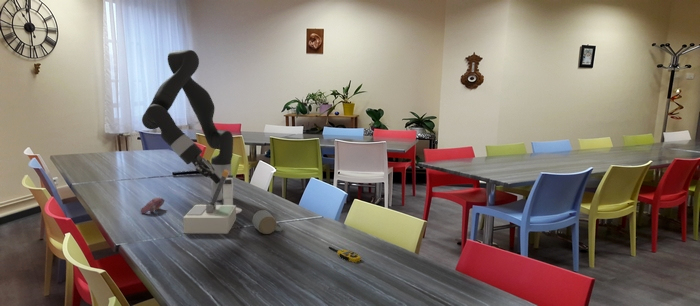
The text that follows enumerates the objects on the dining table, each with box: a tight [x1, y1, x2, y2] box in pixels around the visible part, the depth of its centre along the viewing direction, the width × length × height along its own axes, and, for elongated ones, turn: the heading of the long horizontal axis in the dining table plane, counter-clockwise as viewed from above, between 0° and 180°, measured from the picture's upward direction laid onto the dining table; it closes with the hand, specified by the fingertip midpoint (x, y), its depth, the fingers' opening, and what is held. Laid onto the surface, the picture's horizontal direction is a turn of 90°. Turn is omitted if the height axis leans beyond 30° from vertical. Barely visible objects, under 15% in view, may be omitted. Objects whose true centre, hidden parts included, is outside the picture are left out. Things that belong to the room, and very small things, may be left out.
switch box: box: [182, 200, 237, 234], centre depth 169 cm, size 16×18×9 cm
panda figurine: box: [221, 174, 242, 215], centre depth 190 cm, size 12×11×15 cm
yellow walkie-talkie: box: [328, 246, 362, 263], centre depth 145 cm, size 5×2×15 cm
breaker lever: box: [210, 169, 230, 209], centre depth 168 cm, size 2×4×17 cm, turn 6°
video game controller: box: [140, 197, 165, 214], centre depth 186 cm, size 10×5×7 cm, turn 169°
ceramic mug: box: [252, 209, 283, 235], centre depth 165 cm, size 11×8×8 cm
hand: (219, 181), depth 167 cm, fingers closed
